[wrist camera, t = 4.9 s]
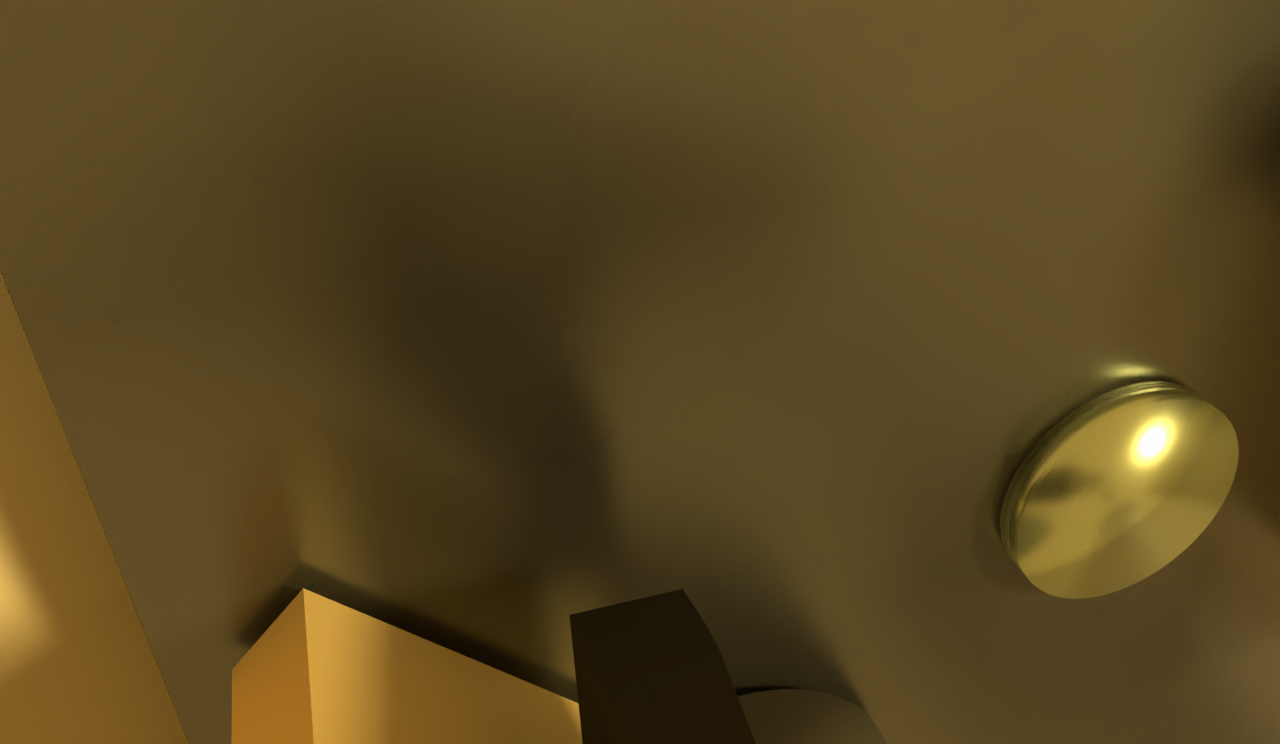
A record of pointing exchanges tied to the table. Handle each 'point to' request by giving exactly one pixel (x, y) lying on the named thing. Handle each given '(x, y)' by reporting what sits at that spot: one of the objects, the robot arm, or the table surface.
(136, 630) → the table surface
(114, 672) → the table surface
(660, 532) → the levelling plate
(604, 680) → the robot arm
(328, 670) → the knob
